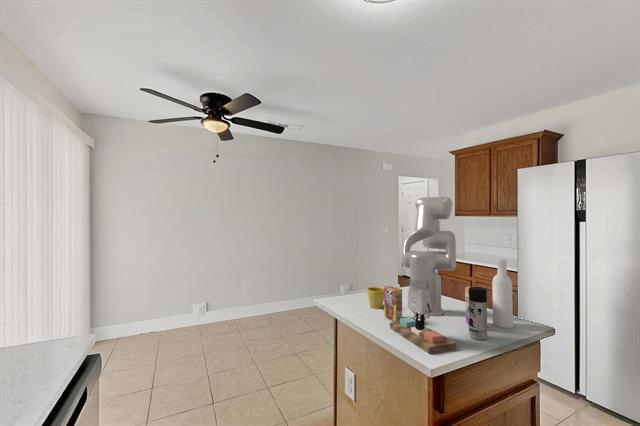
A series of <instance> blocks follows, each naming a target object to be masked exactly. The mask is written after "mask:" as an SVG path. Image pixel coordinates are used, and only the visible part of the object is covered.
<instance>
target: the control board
mask: <svg viewBox="0 0 640 426" xmlns="http://www.w3.org/2000/svg"><path fill="white" fill-rule="evenodd" d="M424 327H425V328H426V329H427V330H429V331H434V330H433V329H431V328H429V327H427V326H425V325H424ZM389 329H390V330H392V331H394V332H395V333H397V334H398V335H399V336H401V337H403V338H404V339H406V340H407V341H409V342H410V343H412V344H413V345H415V346H417V347H418V348H419V349H421V350H423V351H424V352H426V353H427V354H428V355H431V354H438V353H442V352H448V351H454V350H457V342H455V341H453V340H452V339H450V338H448V337H446V336H444V335H443V340H444V342H441V343H434V344H432V343H430V342H428V341H427V340H425V339H424V335H419V336H418V335H417V334H415V333H413V332H412V331H411V328H405V327H403V326H402V325H400V321H399V322H395V321H392V322H389Z"/></svg>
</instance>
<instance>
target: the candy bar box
mask: <svg viewBox="0 0 640 426" xmlns="http://www.w3.org/2000/svg"><path fill="white" fill-rule="evenodd" d="M469 287H470V286H465V287H464V292H465V293H464V297H465V298H464V299H465V301H464V303H465V321H466V323H467V325H468V326H469Z"/></svg>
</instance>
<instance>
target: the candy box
mask: <svg viewBox="0 0 640 426" xmlns="http://www.w3.org/2000/svg"><path fill="white" fill-rule="evenodd" d="M383 288H384V301H383V308H384V309H383V313H384V314H383V317H384V318H386V319H387V320H388V319H389V320H390V321H392V322H399V321H400V319H402V318H403V289H402V288H399V287H396V286H393V285H384V287H383Z"/></svg>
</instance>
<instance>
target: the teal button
mask: <svg viewBox="0 0 640 426" xmlns="http://www.w3.org/2000/svg"><path fill="white" fill-rule="evenodd" d="M400 325H402V326H403V327H405V328H411V327H415V319H413V318H412V317H402V319H400Z"/></svg>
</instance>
